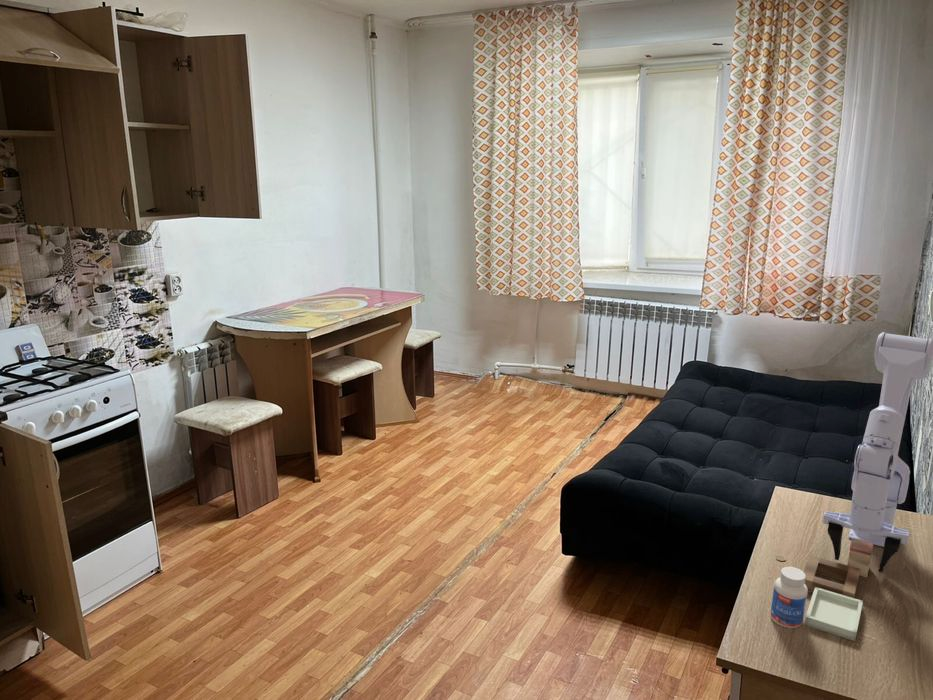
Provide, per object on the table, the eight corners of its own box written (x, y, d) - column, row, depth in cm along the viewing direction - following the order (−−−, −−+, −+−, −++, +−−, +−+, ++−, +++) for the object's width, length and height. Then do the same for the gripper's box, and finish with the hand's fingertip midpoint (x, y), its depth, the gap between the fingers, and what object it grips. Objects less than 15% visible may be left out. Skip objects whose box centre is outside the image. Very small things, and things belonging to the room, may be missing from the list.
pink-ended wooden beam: (848, 562, 143) (852, 538, 141) (869, 567, 141) (873, 544, 140) (846, 571, 140) (849, 547, 139) (867, 577, 138) (871, 553, 137)
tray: (813, 594, 134) (815, 586, 133) (861, 609, 129) (863, 600, 129) (804, 624, 126) (805, 616, 125) (855, 641, 122) (856, 632, 121)
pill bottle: (770, 625, 126) (776, 578, 123) (769, 606, 131) (775, 561, 128) (804, 632, 124) (811, 584, 121) (801, 612, 129) (808, 567, 126)
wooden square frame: (808, 565, 142) (809, 554, 142) (858, 579, 138) (860, 568, 137) (800, 588, 135) (801, 578, 135) (852, 604, 131) (854, 593, 130)
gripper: (824, 501, 137) (815, 562, 141) (911, 522, 129) (899, 585, 133) (829, 486, 142) (821, 545, 147) (913, 505, 135) (902, 566, 139)
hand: (858, 563), depth 140 cm, fingers open, 7 cm apart
